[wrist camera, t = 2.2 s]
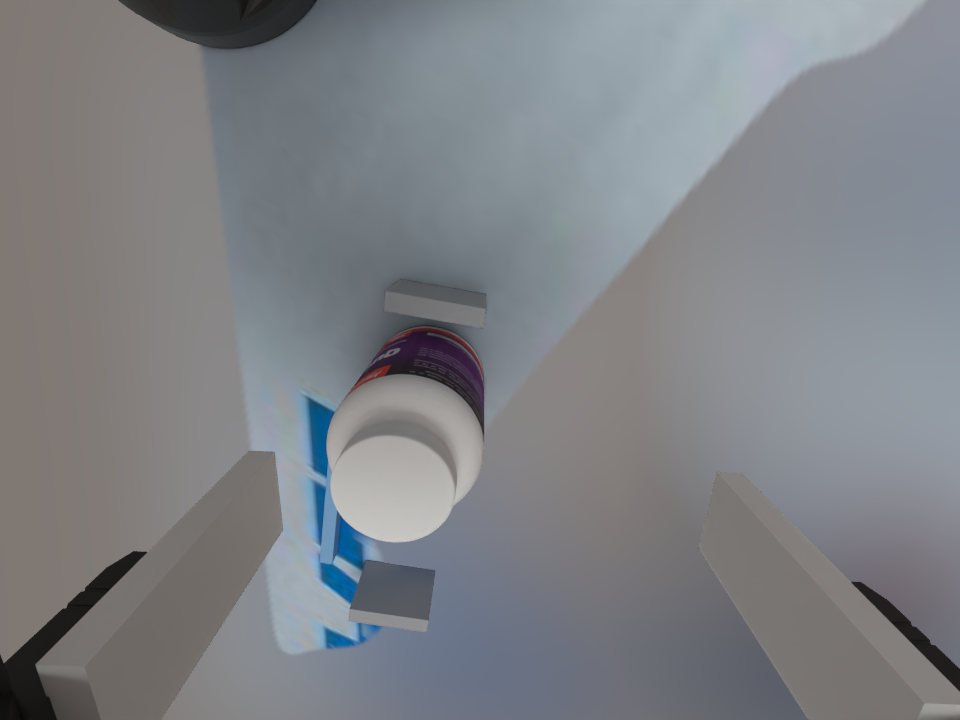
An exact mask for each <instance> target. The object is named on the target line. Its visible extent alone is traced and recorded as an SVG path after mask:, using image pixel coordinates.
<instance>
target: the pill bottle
mask: <svg viewBox="0 0 960 720" xmlns="http://www.w3.org/2000/svg"><path fill="white" fill-rule="evenodd" d="M483 454H484V373H483V368H482V365H481V362H480V360H479V358H478V356H477V354H476V352H475V351H474V350H473V348H472V347H471V346H470V345H469V344H468V343H467V342H466V341H465V340H464V339H463V338H461V337H460V336H458V335H457V334H455V333H453V332H451V331H449V330H446V329H442V328H438V327H432V326H419V327H414V328H410V329H407V330H404V331H402V332H400V333H398V334H397V335H395V336H394V337H392V338H391V339H390V340H389V341H388V342H387V343H386V344H385V345H384V346H383V347H382V348H381V350H380V351H379V352H378V354H377V355H376V357H375V358H374V359H373V361H372V362H371V363H370V365H369V366H368V368H367V369H366V370H365V371H364V373H363V374H362V376H361V377H360V378H359V380H358V381H357V383H356V384H355V385H354V387H353V388H352V389H351V391H350V392H349V393H348V395H347V396H346V397H345V399H344V400H343V401H342V403H341V404H340V406H339V407H338V409H337V410H336V412H335V414H334V416H333V418H332V420H331V423H330V426H329V429H328V435H327V456H328V461H329V465H330V468H331V471H332V474H331V480H330V489H331V495H332V499H333V502H334V504H335V507H336V509H337V510H338V512H339V514H340V515H341V516H342V518H343V519H344V520H345V521H346V522H347V523H348V524H349V525H350V526H352V527H353V528H354V529H355V530H357V531H359V532H360V533H362V534H364V535H366V536H368V537H371V538H374V539H377V540H381V541H387V542H408V541H412V540H416V539H419V538H422V537H424V536H426V535H428V534H430V533H432V532H433V531H435V530H436V529H437V528H438V527H440V526H441V525H442V524H443V522H444V521H445V520H446V519H447V517H448V516H449V514H450V512H451V510H452V507H453V505H455V504H456V503H458V502H459V501H460V500H461V499H462V498H463V497H464V496H465V495H466V494H467V493H468V492H469V490H470V489H471V488H472V486H473V485H474V483H475V481H476V479H477V477H478V475H479V472H480V470H481V466H482V462H483V456H484V455H483Z"/></svg>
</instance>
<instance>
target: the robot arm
mask: <svg viewBox="0 0 960 720" xmlns="http://www.w3.org/2000/svg"><path fill="white" fill-rule="evenodd" d="M119 1H120V2H121V3H122V4H124V5H125V6H126V7H128V8H129V9H131V10H132V11H134V12H135V13H137V14H138V15H140V16H142V17H143V18H145V19H147V20H148V21H150V22H152V23H154V24H155V25H157V26H159V27H161V28H162V29H164V30H166V31H168V32H170V33H172V34H174V35H176V36H178V37H180V38H183V39H185V40H188V41H191V42H194V43H197V44H201V45H205V46H211V47H219V48H238V47H246V46H251V45H255V44H258V43H262V42H264V41H267V40H269V39H272V38H274V37H275V36H277V35H279V34H281V33H282V32H284V31H286V30H287V29H288V28H290V27H291V26H292V25H294V24H295V23H296V22H297V21H298V20H299V19H300V18H302V16H303V15H304V14H305V13H306V12H307V11H308V10H309V9H310V7H311V6H312V5H313V4H314V2H315V1H316V0H119ZM282 531H283V524H282V514H281V505H280V496H279V487H278V477H277V468H276V459H275V452H264V451H248V452H247V453H246V454H245V455H244V456H243V457H242V458H241V459H240V460H239V461H238V462H237V463H236V464H235V465H234V466H233V467H232V468H231V469H230V470H229V471H228V472H227V473H226V474H225V475H224V476H223V477H222V478H221V479H220V480H219V481H218V482H217V483H216V484H215V485H214V486H213V487H212V488H211V489H210V490H209V491H208V492H207V493H206V494H205V495H204V496H203V497H202V498H201V499H200V500H199V501H198V502H197V503H196V504H195V506H193V507H192V508H191V509H190V510H189V511H188V512H187V513H186V514H185V515H184V516H183V517H182V518H181V519H180V520H179V521H178V522H177V523H176V524H175V525H174V526H173V527H172V528H171V529H170V530H169V531H168V532H167V534H165V535H164V536H163V537H162V538H161V539H160V540H159V541H158V542H157V544H155V545H154V546H153V547H152V548H151V549H150V550H149V551H148V552H137V551H133V552H132V553H130V554H129V555H127V556H125V557H124V558H122V559H120V560H119V561H117V562H115V563H114V564H112V565H110V566H109V567H107V568H106V569H105V570H104V571H103V572H102V573H100V574H99V575H98V576H97V577H96V578H95V579H94V580H93V581H92V582H91V583H90V584H89V585H88V586H87V587H86V588H85V591H84V592H80V593H79V594H78V595H77V596H76V597H75V598H74V599H73V600H72V601H70V602H69V603H68V606H67V608H66V609H62V610H61V611H60V612H59V613H58V614H57V615H55V616H54V617H53V618H52V619H51V620H50V621H49V622H48V623H47V624H46V625H45V626H44V627H43V628H42V629H41V630H39V632H37V633H36V634H35V635H34V636H33V637H32V638H31V639H30V640H29V641H28V642H27V643H26V644H24V645H23V646H22V647H21V648H20V649H19V650H18V651H17V652H16V653H15V654H14V655H13V656H12V657H11V658H9V659H8V660H7V661H6V662H5V663H3V661H2V658H1V655H0V720H162V718H163V716H164V715H165V713H166V711H167V710H168V709H169V707H170V706H171V704H172V702H173V701H174V699H175V698H176V696H177V694H178V693H179V691H180V690H181V688H182V687H183V685H184V684H185V682H186V681H187V679H188V677H189V676H190V674H191V673H192V671H193V670H194V668H195V666H196V665H197V663H198V662H199V660H200V659H201V657H202V655H203V654H204V652H205V651H206V649H207V648H208V646H209V645H210V643H211V642H212V640H213V638H214V637H215V635H216V634H217V632H218V631H219V629H220V627H221V626H222V624H223V622H224V621H225V620H226V618H227V616H228V615H229V613H230V612H231V610H232V609H233V607H234V606H235V604H236V602H237V601H238V599H239V597H240V596H241V595H242V593H243V592H244V589H245V588H246V587H247V585H248V584H249V582H250V581H251V579H252V577H253V576H254V574H255V573H256V571H257V570H258V568H259V566H260V565H261V563H262V562H263V560H264V559H265V557H266V556H267V554H268V552H269V551H270V549H271V548H272V546H273V545H274V543H275V542H276V540H277V538H278V537H279V535H280V534H281V532H282ZM699 550H700V551H701V553H702V554H703V556H704V558H705V559H706V560H707V562H708V564H709V565H710V567H711V568H712V570H713V572H714V573H715V574H716V576H717V578H718V579H719V581H720V582H721V584H722V586H723V587H724V589H725V590H726V592H727V593H728V595H729V597H730V598H731V600H732V601H733V603H734V604H735V606H736V607H737V609H738V610H739V612H740V614H741V615H742V617H743V618H744V620H745V622H746V623H747V625H748V626H749V628H750V629H751V631H752V632H753V634H754V636H755V637H756V639H757V640H758V642H759V643H760V645H761V647H762V648H763V650H764V651H765V653H766V654H767V656H768V658H769V659H770V661H771V662H772V664H773V665H774V667H775V668H776V670H777V671H778V673H779V674H780V676H781V678H782V679H783V681H784V683H785V684H786V686H787V687H788V689H789V690H790V692H791V693H792V695H793V697H794V698H795V700H796V701H797V703H798V704H799V706H800V708H801V709H802V711H803V712H804V714H805V715H806V717H807V718H808V720H960V669H959V668H958V667H957V666H956V665H955V664H954V663H953V662H951V660H950V659H949V658H948V657H946V656H945V654H943V653H942V652H941V651H940V650H939V649H938V648H937V647H936V646H935V645H931V643H930V640H929V639H928V638H927V637H926V636H925V635H924V634H923V633H921V631H919V630H918V629H917V628H916V627H913V626H912V625H911V622H910V621H909V620H908V619H907V618H906V617H905V616H904V615H903V614H902V613H901V612H900V611H899V610H898V609H897V608H896V607H894V606H893V605H892V604H891V603H890V602H889V601H888V600H887V599H885V598H884V597H882V596H881V595H879V594H878V593H876V592H875V591H873V590H872V589H870V588H869V587H867V586H866V585H864V584H863V583H861V582H850V581H849V580H848V579H847V578H846V577H845V576H844V575H843V574H842V573H841V572H840V571H839V570H838V569H837V568H836V567H835V566H834V565H833V564H832V563H831V562H830V561H829V560H828V559H827V558H826V557H825V556H824V555H823V554H822V553H821V552H820V551H819V550H818V549H817V548H816V547H815V546H814V545H813V544H812V543H811V542H810V541H809V540H808V539H807V538H806V537H805V536H804V535H803V534H802V533H801V532H800V531H799V530H798V529H797V528H796V527H795V526H794V525H793V524H792V523H791V522H790V521H789V520H788V519H787V518H786V517H785V516H784V515H783V514H782V513H781V512H780V511H779V510H778V509H777V508H776V507H775V506H774V505H773V504H772V503H771V502H770V501H769V500H768V499H767V498H766V497H765V496H764V494H762V492H761V491H759V490H758V488H757V487H756V486H754V484H753V483H752V482H751V481H750V480H749V479H748V478H746V476H744V474H743V473H727V472H717V473H716V477H715V481H714V486H713V489H712V494H711V498H710V502H709V506H708V510H707V515H706V519H705V523H704V528H703V531H702V536H701V540H700V544H699Z"/></svg>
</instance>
